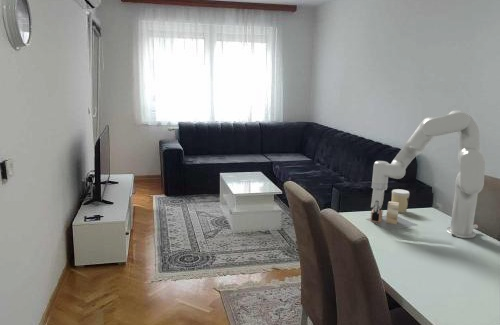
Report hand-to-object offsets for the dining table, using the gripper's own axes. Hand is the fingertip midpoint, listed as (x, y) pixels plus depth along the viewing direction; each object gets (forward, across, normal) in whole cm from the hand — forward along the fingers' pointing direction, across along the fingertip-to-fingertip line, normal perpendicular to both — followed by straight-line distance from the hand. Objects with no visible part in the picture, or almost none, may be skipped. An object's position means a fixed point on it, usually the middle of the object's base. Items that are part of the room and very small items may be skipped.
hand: (376, 217), depth 204 cm
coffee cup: (+3, -24, +10) cm, 26 cm away
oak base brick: (+1, -1, +8) cm, 8 cm away
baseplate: (+2, -1, +8) cm, 8 cm away
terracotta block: (+1, 0, 0) cm, 1 cm away
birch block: (-4, -1, +8) cm, 8 cm away
